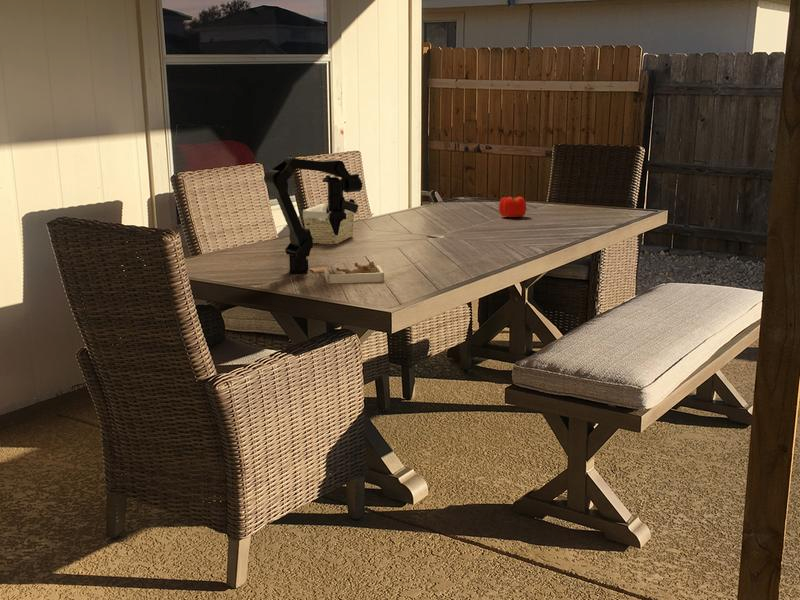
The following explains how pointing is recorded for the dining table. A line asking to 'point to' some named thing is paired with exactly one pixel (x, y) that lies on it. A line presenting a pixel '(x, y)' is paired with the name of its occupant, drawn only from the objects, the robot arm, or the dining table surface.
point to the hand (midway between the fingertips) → (336, 235)
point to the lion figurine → (360, 269)
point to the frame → (354, 277)
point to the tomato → (512, 207)
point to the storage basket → (327, 225)
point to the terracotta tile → (318, 269)
